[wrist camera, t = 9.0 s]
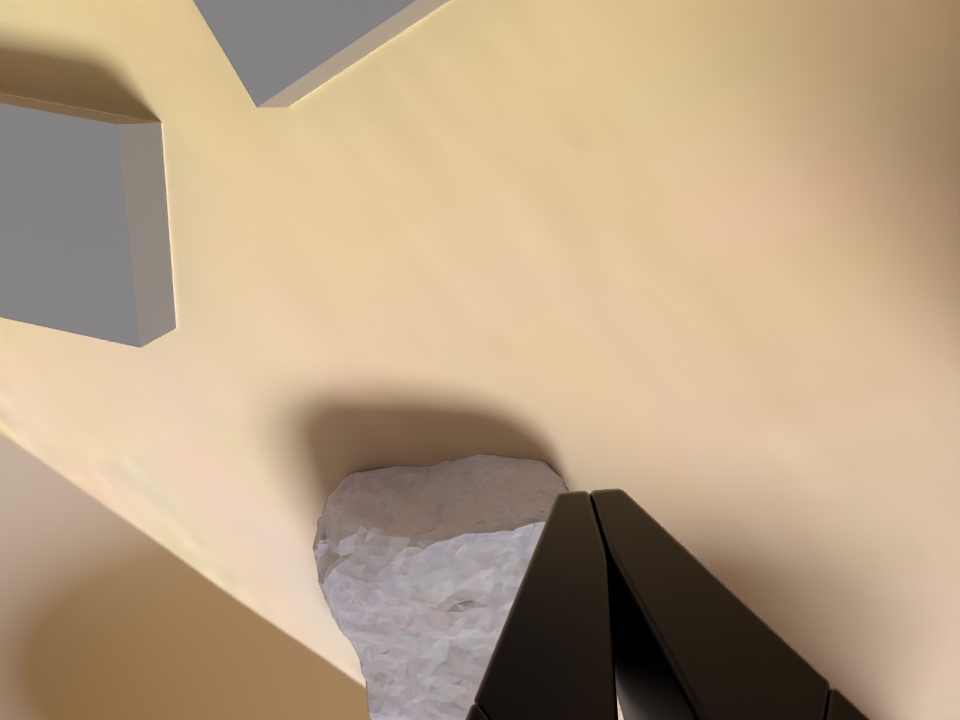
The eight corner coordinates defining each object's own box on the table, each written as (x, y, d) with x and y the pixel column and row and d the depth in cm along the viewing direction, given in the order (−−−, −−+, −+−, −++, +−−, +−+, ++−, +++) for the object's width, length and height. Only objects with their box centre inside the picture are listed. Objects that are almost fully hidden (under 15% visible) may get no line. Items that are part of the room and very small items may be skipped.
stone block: (569, 417, 22) (316, 464, 23) (598, 494, 18) (283, 551, 18) (600, 635, 27) (391, 671, 28) (629, 738, 23) (379, 779, 23)
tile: (117, 124, 17) (-164, 72, 17) (140, 347, 20) (-101, 295, 20) (171, 122, 19) (-81, 76, 19) (184, 323, 22) (-35, 276, 22)
